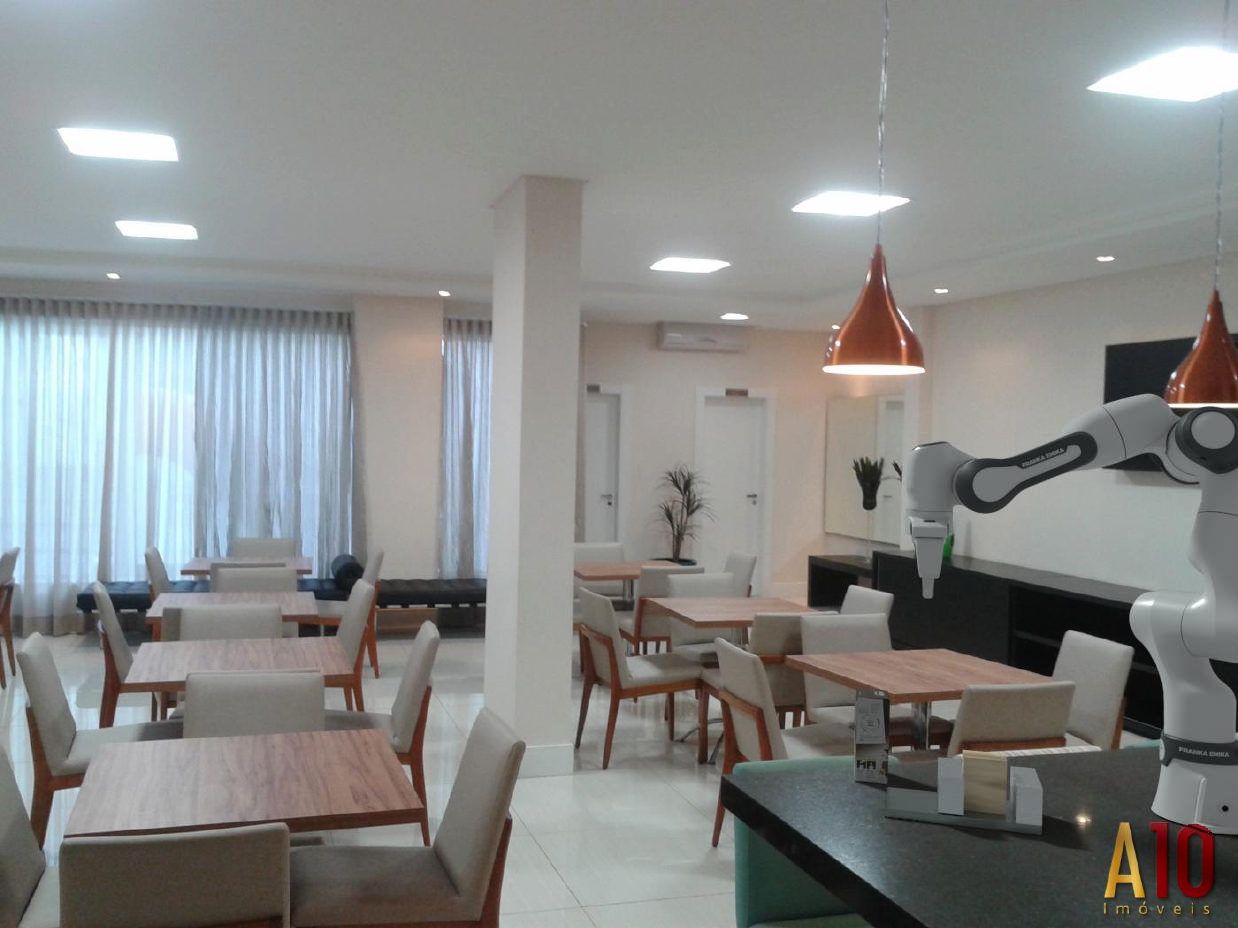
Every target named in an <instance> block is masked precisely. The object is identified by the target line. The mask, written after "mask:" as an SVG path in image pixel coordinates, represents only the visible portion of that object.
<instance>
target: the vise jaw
mask: <svg viewBox="0 0 1238 928" xmlns="http://www.w3.org/2000/svg"><path fill="white" fill-rule="evenodd" d="M962 761H963V759H959V758H949V757H940V756H939V757H937V785H936V786H937V788H936V790H937V791H936V792H937V794H938V812H940V813H949V814H958V815H963V809H964V773H963V766H962Z"/></svg>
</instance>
